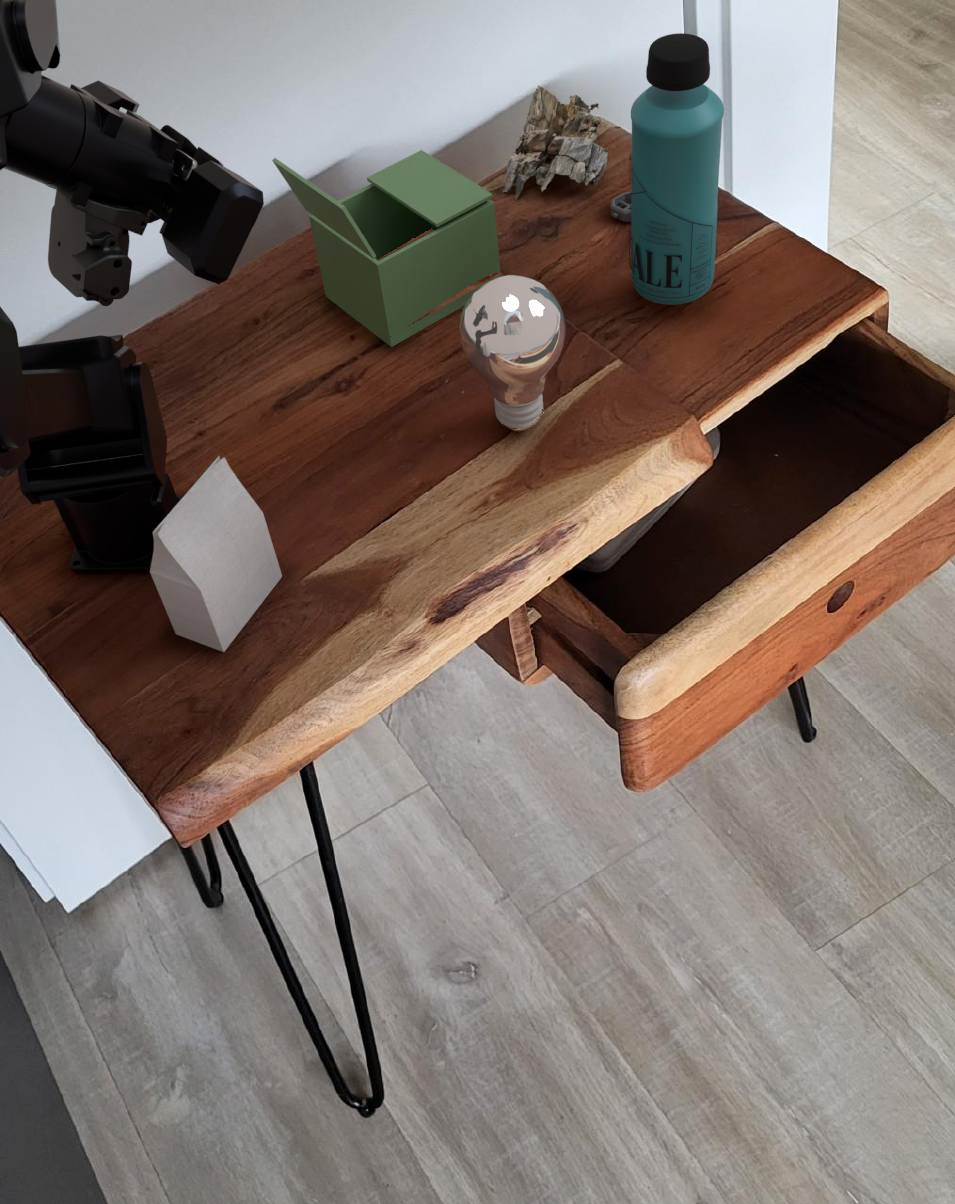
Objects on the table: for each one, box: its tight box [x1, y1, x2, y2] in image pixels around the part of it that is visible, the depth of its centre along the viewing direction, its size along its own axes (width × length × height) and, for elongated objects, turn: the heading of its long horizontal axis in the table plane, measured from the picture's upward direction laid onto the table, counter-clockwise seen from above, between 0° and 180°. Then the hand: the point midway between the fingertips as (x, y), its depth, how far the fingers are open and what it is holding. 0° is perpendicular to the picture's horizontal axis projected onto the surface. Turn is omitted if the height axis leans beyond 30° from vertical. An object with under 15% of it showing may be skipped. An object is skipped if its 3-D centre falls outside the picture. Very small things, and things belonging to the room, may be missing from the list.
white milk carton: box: [149, 455, 283, 653], centre depth 80 cm, size 4×7×10 cm, turn 153°
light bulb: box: [459, 273, 567, 432], centre depth 88 cm, size 7×7×12 cm
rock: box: [502, 85, 609, 201], centre depth 112 cm, size 8×15×4 cm, turn 165°
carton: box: [308, 149, 502, 348], centre depth 101 cm, size 11×9×8 cm
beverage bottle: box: [628, 32, 725, 306], centre depth 93 cm, size 6×7×20 cm
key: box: [610, 191, 631, 223], centre depth 109 cm, size 12×1×3 cm
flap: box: [272, 157, 376, 259], centre depth 93 cm, size 5×9×1 cm
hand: (252, 219), depth 90 cm, fingers closed
